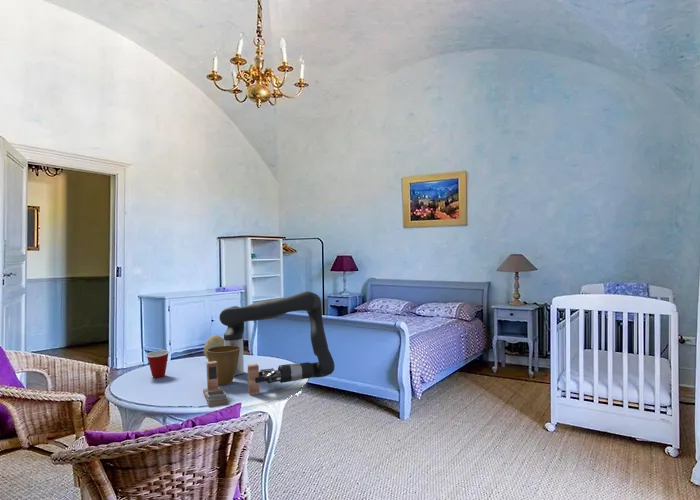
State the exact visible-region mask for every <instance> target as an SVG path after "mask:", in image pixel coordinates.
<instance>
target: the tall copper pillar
mask: <svg viewBox="0 0 700 500" xmlns="http://www.w3.org/2000/svg"><path fill="white" fill-rule="evenodd" d="M259 369H260V366H259V364H258V363H253V364H252V363H251V364H247V386H248V391H247V392H248V394H249V395H250V396H254V395H258V394H259V395H260V394H261V393H260V391H261V390H260V383H256V382H255V378H256V377H259V372H260V370H259Z"/></svg>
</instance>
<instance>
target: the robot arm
mask: <svg viewBox="0 0 700 500" xmlns="http://www.w3.org/2000/svg"><path fill="white" fill-rule="evenodd" d="M321 302H322V301H321V298H320V296H319V295H318V294H317V293H314V292H312V291H307V290H306V291H302V292H299V293H297V294H293V295H290V296H286V297H276V298H271V299H270V298H269V299H266V300H264V299H263V300H261V301H257V302H254V303H250V304H248V305H245V306H238V305H233V306H230V307H226V308H224V309H223V310H222V311H220V314H219V318H218V319H219V321H220V323H221V324H223V326H226V327H227V329H226V330H225V332H224V334H223V339H224V346H238V347H240V351H239V358H238V363H237V368H236V372H235V375H234V376H238V375H242V374H244V372H245V368H244V367H245V365H244V363H245V362H244V338H243V337H244V333H245V323H246V322H257V321H264V320H270V319H275V318H279V317H281V316H283V315H286V314H287V313H288V314H289V313H292V312H300V311H301V312H307V313H306V314H307V315H308V317H309V322H310V342H311V346H312V351H313V355H315V356H316V358H317V361H316V362H299V363H298V362H297V363H295V362H294V363H287V364H281V365H278V367H277V369H276V370H275V369H274V368H273V367H272V368H265V369H260V370H259V377H256V378H255V382H256V383H259V384H260V383H267V384H273V383H280V384H283V383H291V382H297V381H300V380H307V379H312V378H313V379H314V378H325V377H327V376H330V375H332V374H333V372H334V371H335V362H334V359H333V357H332V354H331V352H330V350H329V344H328V341H327V337H326V332H325V328H324V319H323V313H322V312H323V311H322V303H321Z"/></svg>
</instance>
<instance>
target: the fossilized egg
mask: <svg viewBox="0 0 700 500" xmlns="http://www.w3.org/2000/svg"><path fill="white" fill-rule="evenodd" d="M217 346H224V337H222V336H221V335H219V334H212V335H211V336H210V337H209V338H207V340H206V342H205V344H204V347H203V353H204V356H205V358H206V359H207V360H208V356H207V349H208V348H212V347H217Z"/></svg>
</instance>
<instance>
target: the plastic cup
mask: <svg viewBox="0 0 700 500" xmlns="http://www.w3.org/2000/svg"><path fill="white" fill-rule="evenodd" d="M169 353H170V350H167V349H165V350H164V349H160V350H154V351H150V352H148V353H145V357H146V358H147V361H148V364H149V369H150V373H151V377H152V376H153V377H160V378H163V377H165V375H166V371H167V366H168V365H167V364H168V358H169ZM153 377H152V378H153Z"/></svg>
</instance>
